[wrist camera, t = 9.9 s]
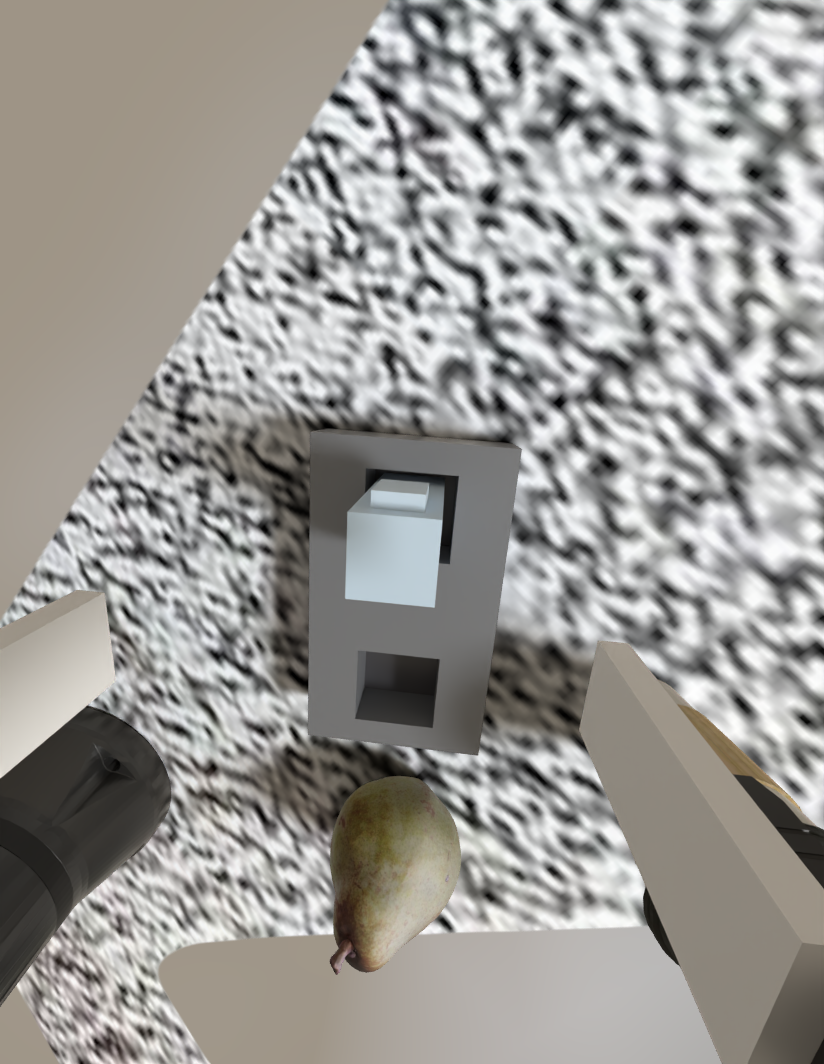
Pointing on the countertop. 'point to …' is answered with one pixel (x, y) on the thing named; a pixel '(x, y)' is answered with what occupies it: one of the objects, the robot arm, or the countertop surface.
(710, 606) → the countertop surface
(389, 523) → the plug
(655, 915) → the coffee cup
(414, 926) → the fruit
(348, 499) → the socket panel
